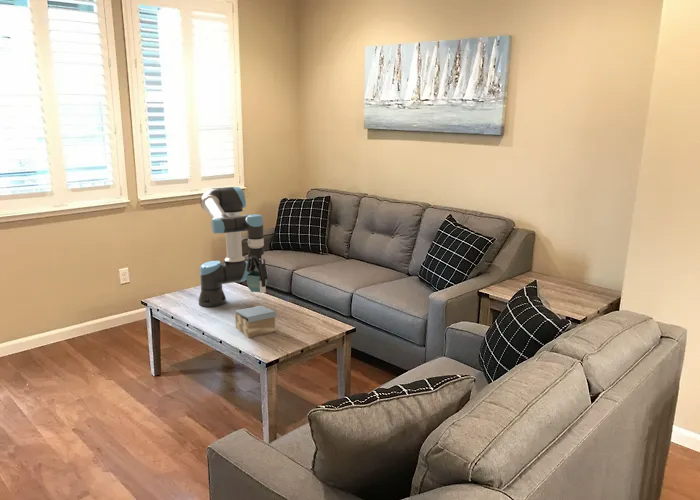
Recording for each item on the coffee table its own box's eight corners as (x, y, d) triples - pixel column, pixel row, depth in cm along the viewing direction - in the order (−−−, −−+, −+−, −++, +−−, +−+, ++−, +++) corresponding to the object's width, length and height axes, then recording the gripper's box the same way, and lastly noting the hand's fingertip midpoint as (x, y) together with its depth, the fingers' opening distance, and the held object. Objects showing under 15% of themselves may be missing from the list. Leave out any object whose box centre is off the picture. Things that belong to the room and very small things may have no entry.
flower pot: (263, 294, 273) (262, 276, 271) (246, 293, 275) (245, 275, 272) (269, 288, 281) (268, 271, 279) (252, 287, 283) (251, 270, 281)
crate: (236, 327, 283) (235, 312, 281) (261, 321, 291) (261, 307, 289) (248, 338, 270) (248, 322, 268) (275, 332, 278) (274, 316, 276)
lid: (235, 315, 281) (234, 310, 281) (261, 309, 289) (261, 305, 289) (248, 322, 267) (248, 317, 267) (276, 316, 275) (275, 311, 274)
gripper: (238, 242, 280) (240, 284, 285) (259, 252, 261) (261, 297, 266) (252, 240, 284) (254, 282, 289) (274, 250, 265) (275, 294, 270)
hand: (257, 289), depth 278 cm, fingers closed on flower pot, 11 cm apart
